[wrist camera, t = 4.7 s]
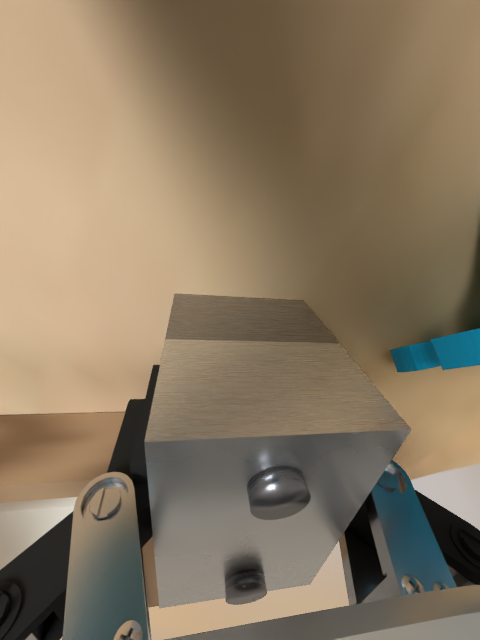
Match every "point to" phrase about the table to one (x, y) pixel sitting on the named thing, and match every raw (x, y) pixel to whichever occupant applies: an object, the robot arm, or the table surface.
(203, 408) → the block
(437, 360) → the gear
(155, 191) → the table surface
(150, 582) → the stand
